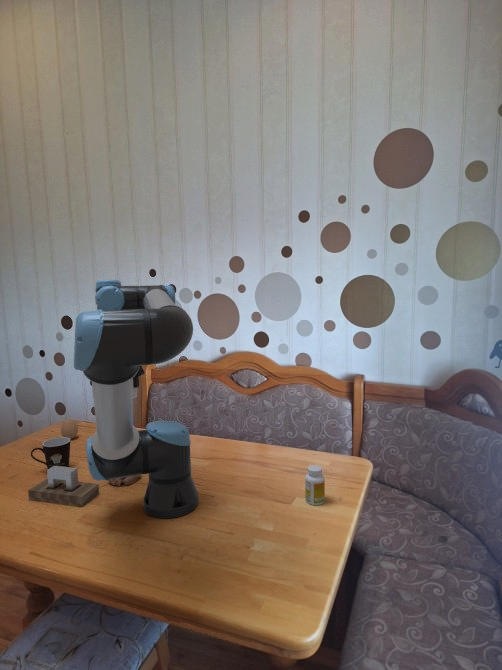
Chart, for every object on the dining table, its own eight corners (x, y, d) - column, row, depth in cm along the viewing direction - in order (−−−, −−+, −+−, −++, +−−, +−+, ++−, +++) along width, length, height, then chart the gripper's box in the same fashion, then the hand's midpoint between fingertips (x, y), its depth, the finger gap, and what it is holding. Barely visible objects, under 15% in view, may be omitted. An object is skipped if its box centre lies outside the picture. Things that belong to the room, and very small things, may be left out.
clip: (79, 495, 125) (77, 468, 124) (72, 500, 122) (70, 472, 121) (56, 492, 127) (54, 465, 126) (49, 497, 124) (47, 469, 123)
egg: (77, 435, 177) (76, 416, 176) (79, 439, 172) (78, 420, 171) (60, 438, 174) (59, 418, 173) (62, 442, 168) (60, 422, 168)
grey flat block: (99, 493, 126) (98, 483, 126) (82, 507, 118) (81, 496, 118) (48, 487, 131) (47, 477, 130) (28, 499, 123) (27, 490, 123)
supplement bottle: (327, 498, 120) (327, 465, 119) (321, 507, 116) (321, 473, 115) (309, 494, 123) (308, 462, 122) (302, 503, 118) (302, 470, 117)
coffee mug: (77, 465, 147) (75, 437, 146) (63, 476, 138) (61, 446, 137) (45, 464, 148) (43, 436, 147) (30, 475, 139) (28, 446, 138)
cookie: (132, 470, 142) (132, 461, 142) (145, 481, 134) (145, 472, 134) (103, 479, 136) (102, 470, 136) (114, 490, 128) (114, 481, 128)
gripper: (68, 330, 131) (73, 397, 133) (141, 331, 124) (144, 401, 127) (84, 328, 138) (88, 391, 140) (153, 328, 131) (156, 395, 134)
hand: (115, 396), depth 134 cm, fingers open, 13 cm apart
